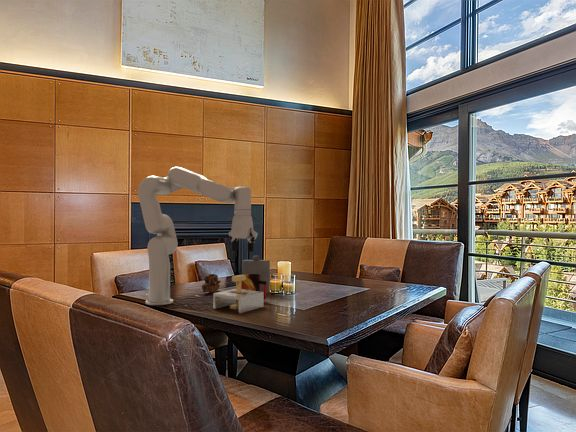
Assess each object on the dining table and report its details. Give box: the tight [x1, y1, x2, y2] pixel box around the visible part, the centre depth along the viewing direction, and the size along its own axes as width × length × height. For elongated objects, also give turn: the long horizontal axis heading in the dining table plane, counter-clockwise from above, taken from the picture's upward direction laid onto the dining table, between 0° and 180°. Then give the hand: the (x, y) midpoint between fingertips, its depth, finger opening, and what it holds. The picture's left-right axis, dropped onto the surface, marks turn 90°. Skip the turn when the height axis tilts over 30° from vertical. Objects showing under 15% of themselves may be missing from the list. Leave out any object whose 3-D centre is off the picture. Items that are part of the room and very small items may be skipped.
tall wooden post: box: [229, 274, 246, 311], centre depth 189 cm, size 3×8×14 cm, turn 146°
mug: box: [241, 274, 267, 300], centre depth 208 cm, size 10×14×12 cm
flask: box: [241, 255, 271, 294], centre depth 226 cm, size 15×6×20 cm, turn 88°
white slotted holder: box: [212, 288, 265, 314], centre depth 189 cm, size 16×16×7 cm
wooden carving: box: [201, 273, 222, 293], centre depth 227 cm, size 16×5×10 cm, turn 164°
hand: (242, 251), depth 191 cm, fingers open, 9 cm apart
